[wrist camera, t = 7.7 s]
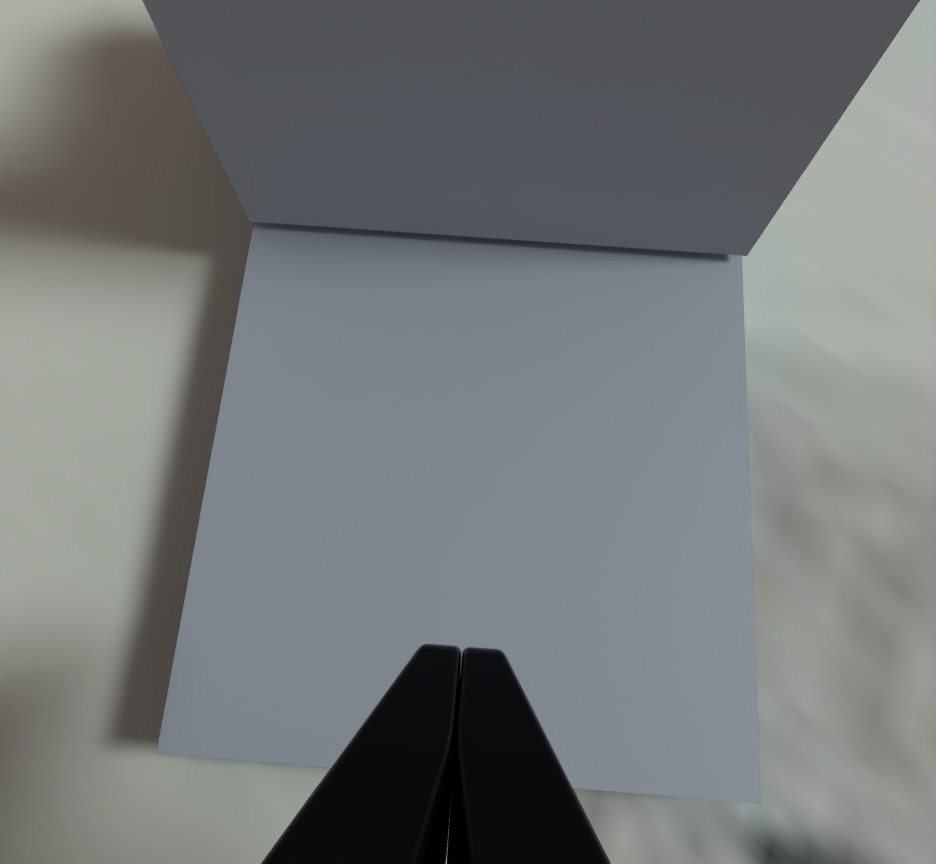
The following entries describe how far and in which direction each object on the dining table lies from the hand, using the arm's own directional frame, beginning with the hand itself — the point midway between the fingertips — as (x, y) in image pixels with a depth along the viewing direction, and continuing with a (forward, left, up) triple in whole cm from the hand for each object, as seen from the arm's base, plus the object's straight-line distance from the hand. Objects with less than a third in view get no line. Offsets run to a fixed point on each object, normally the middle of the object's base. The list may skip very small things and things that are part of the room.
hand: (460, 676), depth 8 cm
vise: (+7, +3, -8) cm, 11 cm away
